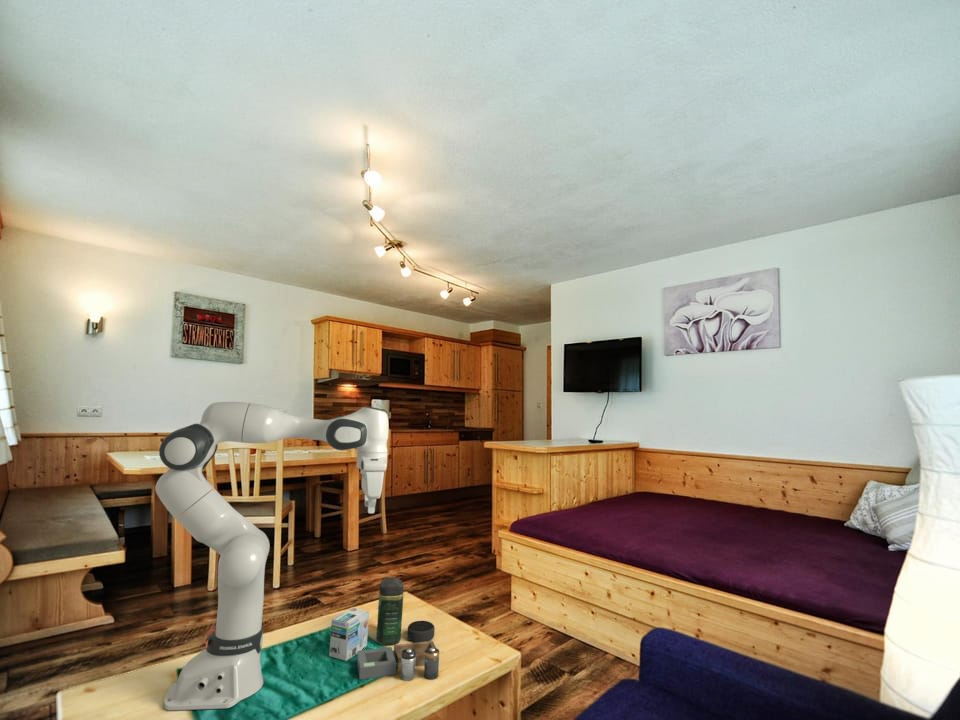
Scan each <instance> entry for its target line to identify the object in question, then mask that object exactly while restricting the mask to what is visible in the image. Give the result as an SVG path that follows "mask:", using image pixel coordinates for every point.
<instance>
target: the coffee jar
mask: <svg viewBox="0 0 960 720" xmlns="http://www.w3.org/2000/svg"><path fill="white" fill-rule="evenodd" d="M378 593H379V596H378V606H377V607H378V608H377V609H378V610H377V624H376V641H377V643H378V644H379V645H384V646H394V645H396V644H398V643H400V642H401V638H402V623H403V612H404V610H403V608H404V583H403V580H401V579H399V578H398V577H397V576H394V577H391V576H390V577H385V578H384V579H382V580H381V581H380V584H379V591H378Z"/></svg>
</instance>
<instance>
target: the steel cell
mask: <svg viewBox="0 0 960 720" xmlns="http://www.w3.org/2000/svg"><path fill="white" fill-rule="evenodd" d="M415 663H416V651H415V650H414V649H405V650H403V651H402V657H401V669H400V680H402V681H403V682H410V681H413V680H414V679H416V667H415Z"/></svg>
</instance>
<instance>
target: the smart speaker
mask: <svg viewBox="0 0 960 720" xmlns="http://www.w3.org/2000/svg"><path fill="white" fill-rule="evenodd" d="M435 631H436V628H435V625H434V624H433V622H431V621H429V620H428V621H427V620H415V621H413V622H411V623H409V624H408V626H407V631H406V632H407V633H406V634H407V639H408V640H409V641H410V642H411V643H418V642H427V641H433V639H434V637H435Z"/></svg>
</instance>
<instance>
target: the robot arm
mask: <svg viewBox="0 0 960 720" xmlns="http://www.w3.org/2000/svg"><path fill="white" fill-rule="evenodd" d="M389 427H390V426H389V416H388V412H386V411H385V410H384V409H381V408H378V407H374V406H369V405H368V406H362V407H361V408H360V409H359V410H357V411H354V412H352V413H350V414H347V415H342V416H336V417H333V418H330V419H318V418H309V417H301V416H296V415H292V414H290V413H286V412H284V411H282V410H280V409H277V408H275V407H271V406H267V405H263V404H261V403H254V402H253V403H252V402H245V401H218V402H217V401H216V402H213V403H211V404H209V405H208V406H207V407H206V408H205V409H204V411H203V413H202V415H201V420H200V422H199V423H193V424H190V425H187V426H185V427H182V428H179V429H177V430H174V431H172V432H170V433H169V434H168V435H166V436H165V438H164V439H163V440H162V442H161V444H160V447H159V451H158V453H159V458H160V461H161V462H162V464H163V465H164V466H165V467H167V468H168V470H167V471H165V472H164V473H163V474H162V475H161V476H160V477H159V478H158V480H157V481H156V484H155V488H154V490H155V493H156V495H157V497H158V498H159V500H160V502H162V504H163V506H164V507H165V508H166V510H167V511H168V512H169V514H170V515H171V516H172V517H173V518H174V519H175V520H176V521H177V522H178V523H179V524H180V525H181V526H182V527H183V528H184V529H185V530H186V531H187V533H188V534H189V535H191V536H192V538H193V539H195V540H196V541H197V542H199V543H202V544H203V545H205V546H207V547H209V548H210V549H211V550H213V551H215V553H216V554H218V555H220V556H219V560H218V564H217V565H218V566H217V601H218V603H217V612H216V613H217V614H216V623H215V624H216V625H215V628H209V630H208V631H207V633H206V639H205V647H204V649H203V650H201V651H200V652H199V653H197V654H196V655H195V656H193V657H192V658H191V659H189V660H188V661H187V662H186V664H185V665H184V666H183V668H182V669H181V671H180V673H179V675H178V678H177V680H176V681H175V682H173V684H171V686H170V687H169V688H168V690H167V691H166V693H165V696H164V700H163V707H164V709H165V710H166V711H187V710H188V711H189V710H213V709H215V710H216V709H229V708H231V707H233V706H235V705H236V704H238V703H239V702H241V701H243V700H245V699H246V698H249V697H251V696H253V695H254V694H255V693H257V692H258V691H260V689H261V688H262V687H263V686H264V678H263V672H262V667H261V664H262V663H261V650H262V649H263V648H262V647H263V640H264V639H263V638H264V628H263V626H262V624H263V613H264V612H263V611H264V602H265V601H264V600H265V572H266V571H265V569H266V563H267V559H268V556H269V553H270V547H271V546H270V540H269V538H268V536H267V534H266V533H265V532H264V531H263V530H261V529H259V528H258V527H257V526H256V525H255V524H254V523H252V522H251V521H250V520H249V519H247V518H246V517H244V516H243V515H242V514H240V512H238V511H237V510H236V509H235V508H234V507H233V506H232V505H231V504H230V503H229V502H228V501H227V500H226V498H224V497H223V496H222V495H221V494H220V492H218V491H217V489H215V488H214V486H213V485H211V483H210V482H208V480H207V479H206V477H205V476H204V474H203V470H204V469H205V468H206V467H207V465H208V464H209V462H211V460H212V459H213V457H214V456H215V455H216V452H217V450H218V445H219V444H220V443H224V442H232V443H233V442H234V443H241V444H242V443H244V444H267V443H270V444H271V443H274V442H277V441H281V440H284V439H285V440H286V439H305V440H315V441H320V442H321V441H322V442H325V443H327V444H328V445H330V447H331V448H332V449H334V450H336V451H342V452H343V451H349V450H351V449H357V453H356V468H357V469H360V471H359V472H360V474H361V489H362V491H363V493H364V506H365V508H367V513H368V514H375V511H376V504H377V499H380V498H381V496H382V491H383V485H384V476H385V475H384V474H385V472H386V471H387V467H388V446H387V445H388V444H387V443H388V439H389V431H390V429H389Z"/></svg>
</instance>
